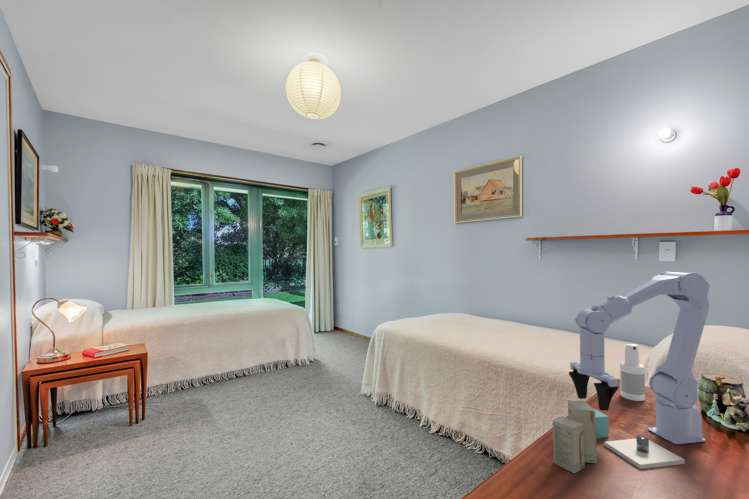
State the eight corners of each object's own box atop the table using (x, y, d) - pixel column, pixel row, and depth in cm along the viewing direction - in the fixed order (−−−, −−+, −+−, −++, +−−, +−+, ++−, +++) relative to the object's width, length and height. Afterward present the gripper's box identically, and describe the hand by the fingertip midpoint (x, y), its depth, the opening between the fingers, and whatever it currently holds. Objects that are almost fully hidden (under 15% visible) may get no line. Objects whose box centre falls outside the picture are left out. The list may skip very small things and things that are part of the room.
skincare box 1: (585, 468, 80) (585, 424, 80) (574, 474, 78) (573, 429, 78) (563, 457, 85) (563, 415, 85) (552, 462, 82) (551, 419, 83)
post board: (644, 441, 92) (644, 426, 92) (684, 463, 82) (684, 446, 82) (604, 445, 90) (604, 429, 90) (640, 469, 80) (640, 451, 80)
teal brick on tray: (594, 428, 99) (593, 408, 99) (608, 437, 94) (608, 416, 94) (578, 429, 98) (578, 409, 98) (592, 438, 93) (591, 417, 93)
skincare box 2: (597, 464, 82) (596, 411, 82) (577, 462, 83) (576, 410, 83) (586, 449, 88) (586, 400, 88) (567, 447, 89) (567, 399, 89)
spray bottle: (626, 400, 117) (626, 346, 118) (616, 393, 124) (615, 341, 124) (649, 402, 116) (648, 347, 116) (637, 394, 123) (637, 342, 123)
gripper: (560, 347, 103) (561, 394, 103) (600, 362, 89) (600, 416, 88) (582, 346, 104) (582, 392, 104) (624, 361, 90) (625, 414, 89)
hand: (592, 403), depth 96 cm, fingers open, 7 cm apart
